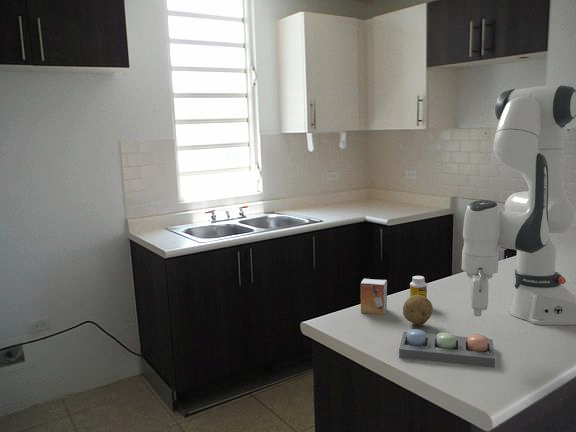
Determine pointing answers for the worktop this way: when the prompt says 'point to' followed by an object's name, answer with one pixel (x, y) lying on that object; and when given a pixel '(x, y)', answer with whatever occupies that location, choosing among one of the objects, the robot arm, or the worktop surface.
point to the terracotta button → (477, 343)
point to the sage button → (446, 341)
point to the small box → (374, 296)
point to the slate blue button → (416, 337)
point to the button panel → (447, 352)
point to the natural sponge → (417, 309)
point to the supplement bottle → (418, 286)
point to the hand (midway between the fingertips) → (477, 314)
